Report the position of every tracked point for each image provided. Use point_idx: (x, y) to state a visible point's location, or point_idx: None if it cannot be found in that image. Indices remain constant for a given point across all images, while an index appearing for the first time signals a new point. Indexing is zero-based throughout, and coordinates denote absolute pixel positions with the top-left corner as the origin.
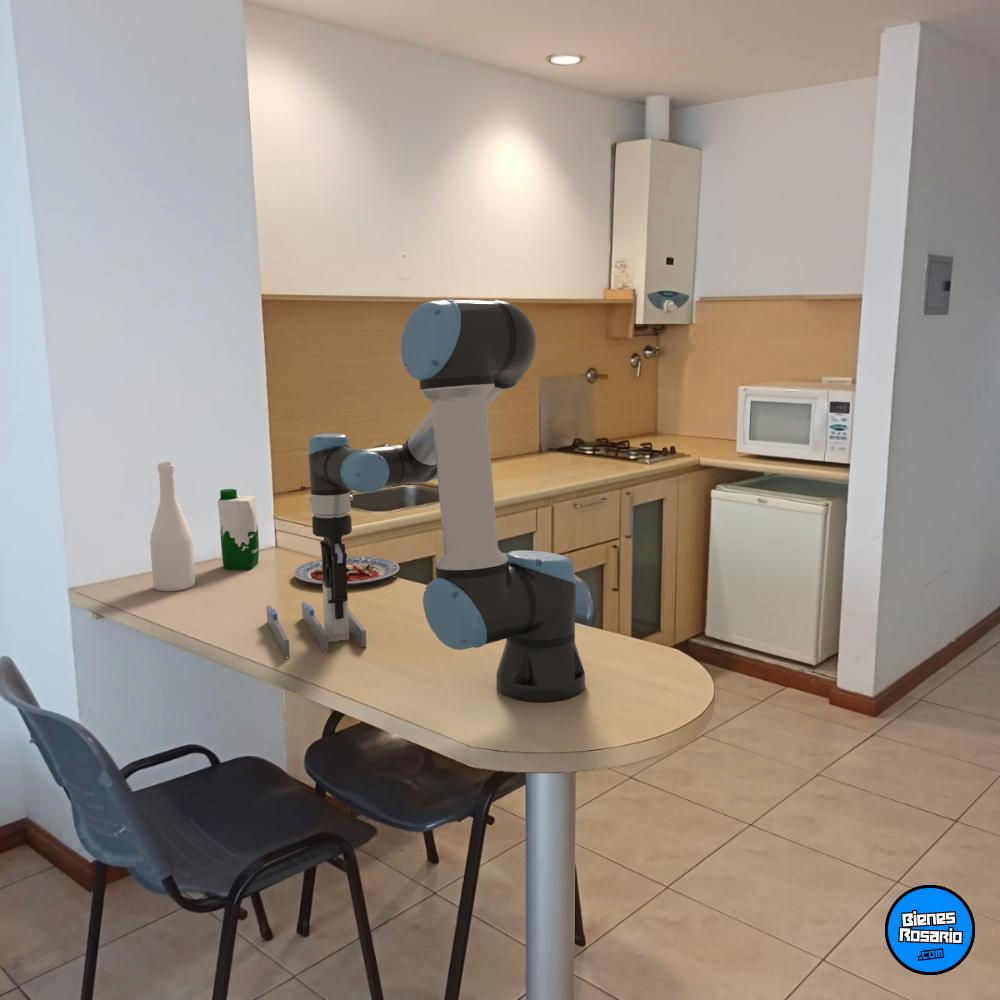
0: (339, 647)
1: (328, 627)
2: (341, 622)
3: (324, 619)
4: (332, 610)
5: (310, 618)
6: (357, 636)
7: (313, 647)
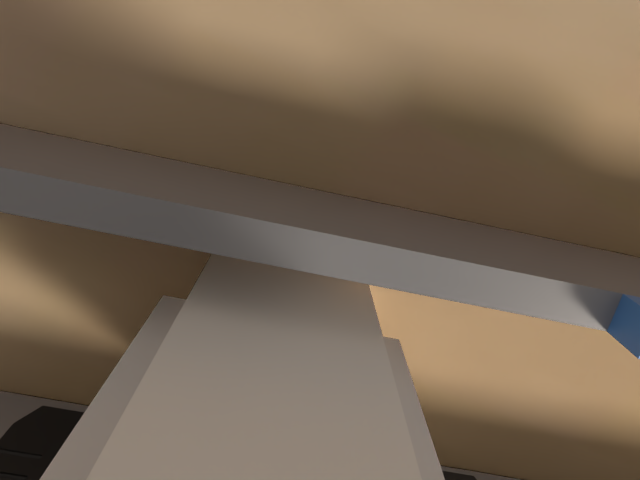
0: (61, 268)
1: (186, 302)
2: None
3: (373, 349)
4: (64, 457)
5: (595, 278)
6: None
7: (160, 100)
